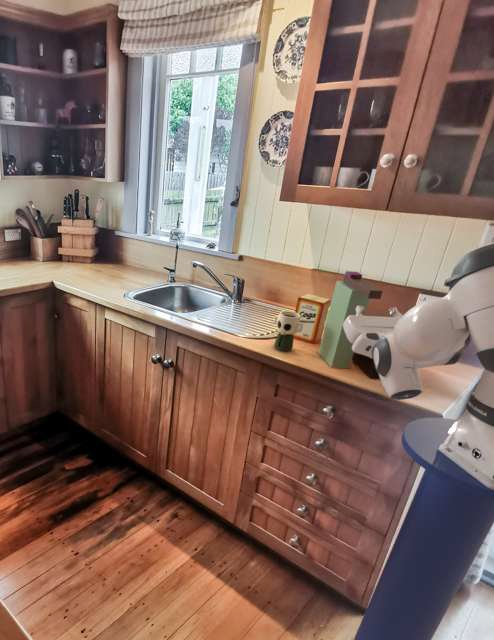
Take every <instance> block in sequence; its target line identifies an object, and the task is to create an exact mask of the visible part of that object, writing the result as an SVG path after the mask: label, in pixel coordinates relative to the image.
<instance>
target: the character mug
mask: <svg viewBox="0 0 494 640" xmlns="http://www.w3.org/2000/svg"><path fill="white" fill-rule="evenodd" d="M300 318H301V315H300V314H298V313H295V311H291V310H282V311H280V312H279V313H278V314H276V315H275V316H274V319H273V323H274V324H275V325H276V330H277V332H278V333H277V335H276V338H275V340H274V344H273V347H274V348H275V349H276V350H277V349H278V348H279V351H282V352H283V351H284V352H288V351H291V350H293V348H294V347H293V346H294V338H293V334H295V333H297V331H298V332H301V331H302V328H303V324H302V323H300ZM299 325H300V328H299V329H298V327H299Z"/></svg>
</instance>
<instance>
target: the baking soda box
mask: <svg viewBox="0 0 494 640" xmlns="http://www.w3.org/2000/svg"><path fill="white" fill-rule="evenodd" d="M331 302H332V299H330V298H326V297H321V296H318V295H314V294H309V293H304V294H302V295H300V296H298V297H297V302H296V305H295V311H294V312H295V313H298V314H300V315H301V318H300V323H302V324H303V328H302V331H301V332H298V331H297V333H295V334H293V339H295V340H300V341H303V342H306V343H310V344H313V345H315V344H316V343H319V342H320V341H322V337H323V333H324V329H325V328H324V325H325V321H326V317H327V313H328V309H329V307H330V305H331ZM299 328H300V325H299V327H298V329H299Z"/></svg>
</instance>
